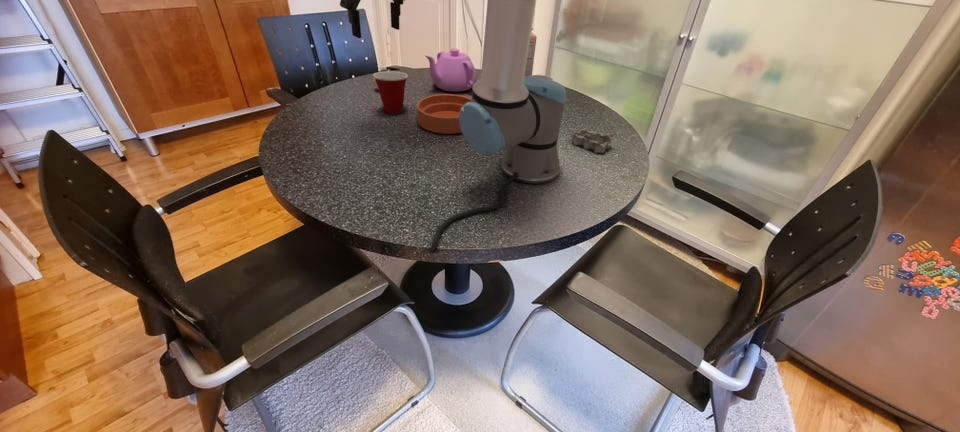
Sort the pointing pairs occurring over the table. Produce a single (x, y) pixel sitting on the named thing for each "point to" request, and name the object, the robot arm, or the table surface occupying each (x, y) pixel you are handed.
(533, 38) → the cracker box
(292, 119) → the table surface
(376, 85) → the garlic bulb
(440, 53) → the teapot
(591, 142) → the egg carton
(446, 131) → the bowl
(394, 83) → the plastic cup
